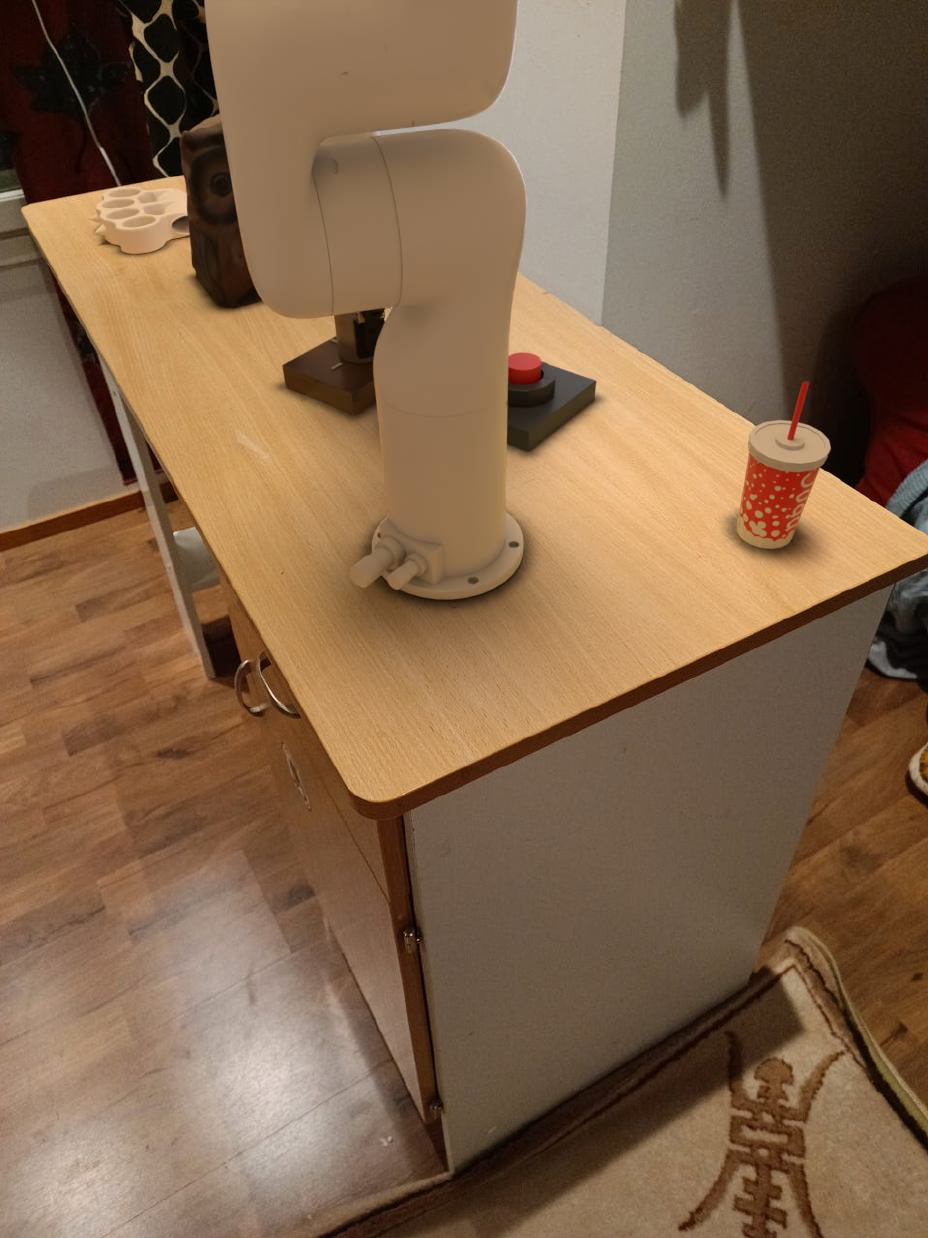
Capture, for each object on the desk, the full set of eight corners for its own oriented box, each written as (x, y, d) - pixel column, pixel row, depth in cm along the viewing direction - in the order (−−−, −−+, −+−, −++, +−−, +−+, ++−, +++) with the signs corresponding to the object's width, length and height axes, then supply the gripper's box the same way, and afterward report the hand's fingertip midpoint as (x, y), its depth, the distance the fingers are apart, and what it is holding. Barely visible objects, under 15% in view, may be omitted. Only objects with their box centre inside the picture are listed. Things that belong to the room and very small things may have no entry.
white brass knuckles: (210, 241, 123) (103, 260, 118) (185, 200, 134) (86, 217, 130) (205, 216, 120) (95, 235, 116) (179, 177, 132) (79, 193, 128)
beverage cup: (756, 562, 71) (799, 411, 62) (712, 520, 75) (746, 372, 66) (817, 542, 73) (868, 392, 63) (771, 502, 77) (812, 355, 67)
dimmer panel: (354, 415, 89) (351, 392, 87) (285, 386, 93) (281, 363, 91) (440, 361, 97) (439, 338, 95) (373, 336, 101) (371, 314, 99)
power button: (527, 390, 85) (527, 373, 84) (497, 379, 86) (497, 362, 85) (547, 375, 87) (548, 358, 86) (518, 364, 88) (518, 348, 87)
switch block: (528, 452, 84) (529, 415, 81) (446, 419, 88) (445, 383, 85) (594, 399, 90) (598, 364, 87) (515, 371, 95) (516, 336, 92)
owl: (291, 262, 117) (264, 92, 103) (303, 302, 108) (276, 122, 94) (194, 274, 115) (154, 102, 101) (199, 315, 106) (155, 133, 92)
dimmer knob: (392, 356, 92) (389, 308, 89) (348, 367, 91) (342, 318, 87) (375, 337, 96) (370, 289, 92) (332, 347, 94) (325, 299, 90)
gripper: (417, 176, 76) (427, 369, 88) (345, 126, 87) (363, 304, 99) (336, 192, 73) (358, 388, 86) (272, 138, 84) (300, 319, 97)
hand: (361, 341), depth 92 cm, fingers closed on dimmer knob, 5 cm apart
